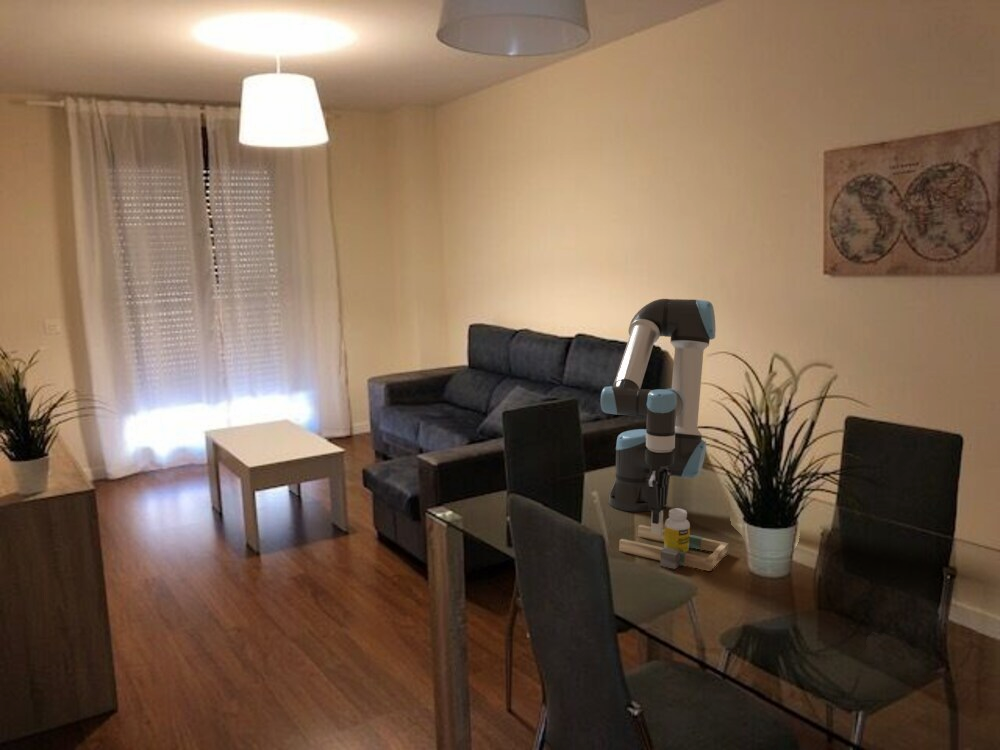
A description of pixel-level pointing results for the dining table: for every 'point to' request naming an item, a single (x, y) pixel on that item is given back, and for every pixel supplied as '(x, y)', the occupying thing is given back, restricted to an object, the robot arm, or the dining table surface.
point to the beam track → (674, 556)
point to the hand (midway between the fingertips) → (656, 533)
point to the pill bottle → (677, 530)
